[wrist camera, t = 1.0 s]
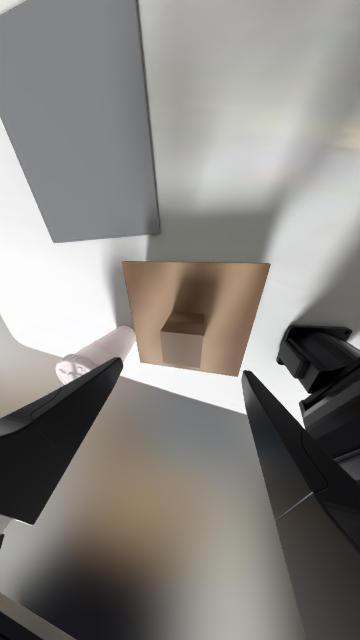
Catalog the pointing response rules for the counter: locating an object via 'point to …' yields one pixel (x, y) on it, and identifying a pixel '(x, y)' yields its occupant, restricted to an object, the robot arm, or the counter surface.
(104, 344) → the smoothie
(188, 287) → the lid
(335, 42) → the counter surface
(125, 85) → the mat
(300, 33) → the counter surface
